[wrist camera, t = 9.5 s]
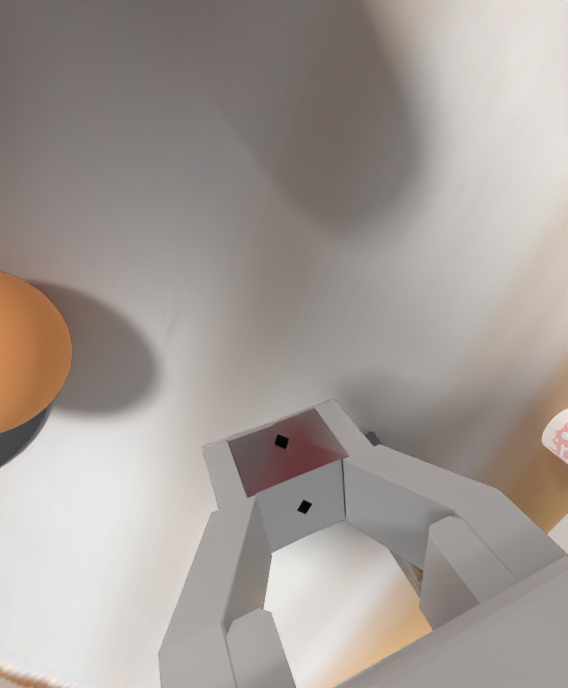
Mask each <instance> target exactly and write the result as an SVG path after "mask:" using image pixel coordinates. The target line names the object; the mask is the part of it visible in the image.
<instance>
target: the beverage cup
mask: <svg viewBox="0 0 568 688" xmlns="http://www.w3.org/2000/svg"><path fill="white" fill-rule="evenodd" d="M542 443H543V445H544V446H545V447H547V448H548V449H549V450H550V451H552V452H553V453H554V454H555V455H556V456H558V457H559V458H560V459H561V460H563V461H564V462H565V463H566V464H567V465H568V409H566V410H563V411H562V412H560V413H559V414H558V415H556V416H555V417H554V418H553V419H552V420H551V422H550V423H549V424H548V425H547V427H546V429H545V430H544V432H543V436H542Z"/></svg>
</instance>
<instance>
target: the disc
mask: <svg viewBox="0 0 568 688" xmlns="http://www.w3.org/2000/svg"><path fill="white" fill-rule="evenodd" d="M45 410H46V408H45V409H43V410H42V411H41V412H40V413H39V414H37V415H36V416H35V417H33V418H32V419H30V420H28V421H27V422H25V423H23V424H21V425H19V426H17V427H15V428H13V429H10V430H8V431H5V432H2V433H0V465H1V464H3V463H4V462H6V461H7V460H8V459H9V458H11V457H12V456H13V455H14V454H16V453H17V452H18V451H19V450H20V449H21V448H22V447H23V446H24V445H25V443H26V442H27V441H28V440H29V439H30V438H31V436H32V435H33V433H34V432H35V430H36V429H37V428H38V426H39V424H40V422H41V420H42V417H43V415H44V413H45Z"/></svg>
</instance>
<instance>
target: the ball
mask: <svg viewBox="0 0 568 688" xmlns="http://www.w3.org/2000/svg"><path fill="white" fill-rule="evenodd" d="M71 360H72V342H71V337H70V332H69V330H68V327H67V324H66V322H65V320H64V318H63V317H62V315H61V313H60V312H59V310H58V309H57V308H56V306H55V305H54V304H53V303H52V302H51V301H50V300H49V299H48V298H47V296H46V295H44V294H43V293H42V292H41V291H39V290H38V289H37V288H35V287H34V286H32V285H30V284H29V283H27V282H26V281H23V280H21V279H19V278H17V277H15V276H13V275H10V274H7V273H4V272H1V271H0V433H2V432H5V431H8V430H10V429H13V428H15V427H17V426H19V425H21V424H23V423H25V422H27V421H28V420H30V419H32V418H33V417H35V416H36V415H37V414H39V413H40V412H41V411H42V410H43V409H45V408H46V407H47V406H48V405H49V404H50V403H51V402H52V401H53V399H54V398H55V397H56V395H57V394H58V393H59V391H60V390H61V388H62V386H63V385H64V383H65V381H66V379H67V376H68V374H69V370H70V366H71Z"/></svg>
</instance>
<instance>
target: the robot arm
mask: <svg viewBox="0 0 568 688" xmlns="http://www.w3.org/2000/svg"><path fill="white" fill-rule="evenodd" d="M226 439H227V440H226ZM202 447H203V454H204V458H205V461H206V465H207V469H208V472H209V476H210V480H211V483H212V487H213V491H214V494H215V498H216V502H217V505H218V509H219V510H217V511H215V512H213V513H211V515H210V518H209V521H208V523H207V526H206V528H205V531H204V534H203V536H202V539H201V542H200V544H199V547H198V550H197V552H196V555H195V558H194V560H193V563H192V565H191V568H190V571H189V573H188V576H187V579H186V581H185V584H184V587H183V589H182V592H181V595H180V597H179V600H178V603H177V605H176V608H175V610H174V613H173V616H172V618H171V621H170V624H169V626H168V629H167V632H166V634H165V637H164V640H163V642H162V645H161V647H160V650H159V653H158V657H159V670H160V683H161V688H296V685H295V682H294V679H293V676H292V673H291V670H290V667H289V664H288V662H287V659H286V656H285V653H284V650H283V647H282V644H281V641H280V638H279V635H278V632H277V629H276V626H275V623H274V620H273V617H272V614H271V612H269V611H266V610H263V607H264V601H265V595H266V589H267V583H268V577H269V570H270V564H271V558H272V555H271V553H272V552H274V551H276V550H279V549H281V548H283V547H285V546H287V545H289V544H291V543H293V542H295V541H297V540H299V539H301V538H303V537H305V536H307V535H310V534H312V533H314V532H317V531H319V530H322V529H324V528H326V527H329V526H331V525H333V524H336V523H338V522H341V521H343V520H345V519H347V522H349V523H350V524H352V525H353V526H355V527H356V528H358V529H359V530H361V531H363V532H364V533H366V534H367V535H369V536H370V537H372V538H373V539H375V540H376V541H378V542H380V543H381V544H383V545H384V546H386V547H387V548H389V549H390V550H392V551H393V552H395V553H396V554H398V555H400V556H401V557H403V558H404V559H406V560H407V561H409V562H410V563H412V564H413V565H415V566H417V567H418V568H420V569H421V570H423V571H424V573H423V581H422V588H421V596H420V604H419V608H420V610H421V612H422V613H423V615H424V616H425V618H426V620H427V621H428V623H429V624H430V626H431V628H432V629H433V631H431V632H430V633H428V634H426V635H424V636H423V637H421V638H419V639H417V640H416V641H414V642H412V643H410V644H408V645H407V646H405V647H403V648H401V649H400V650H398V651H396V652H394V653H393V654H391V655H389V656H387V657H386V658H384V659H382V660H380V661H379V662H377V663H375V664H373V665H371V666H370V667H368V668H366V669H364V670H363V671H361V672H359V673H357V674H356V675H354V676H352V677H350V678H349V679H347V680H345V681H343V682H342V683H340V684H338V685H336V686H334V687H333V688H568V554H567V553H566V552H565V551H564V550H563V549H561V548H560V546H558V545H557V544H556V543H555V542H554V541H553V540H552V539H551V538H550V537H549V536H548V535H547V534H546V533H545V532H544V531H543V530H541V529H540V528H539V527H538V526H537V525H536V524H535V523H534V522H533V521H532V520H531V519H530V518H529V517H528V516H527V515H525V514H524V513H523V512H522V511H521V510H520V509H519V508H518V507H517V506H516V505H515V504H514V503H513V502H512V501H511V500H510V499H508V498H507V497H506V496H505V495H504V494H503V493H502V492H501V491H500V490H498V489H496V488H493V487H491V486H488V485H485V484H483V483H480V482H478V481H475V480H472V479H470V478H467V477H464V476H462V475H459V474H457V473H454V472H451V471H449V470H446V469H443V468H441V467H438V466H436V465H433V464H430V463H428V462H425V461H422V460H420V459H417V458H415V457H412V456H409V455H407V454H404V453H401V452H399V451H396V450H394V449H391V448H388V447H386V446H383V445H380V444H379V445H377V446H374V447H373V445H372V444H371V443H370V442H369V441H368V439H367V438H366V437H365V436H364V434H363V433H362V432H361V431H360V430H359V428H358V427H357V426H356V425H355V424H354V422H353V421H352V420H351V419H350V418H349V416H348V415H347V414H346V413H345V411H344V410H343V409H342V408H341V407H340V405H339V404H338V403H337V402H336V401H335V400H333V399H331V400H328V401H325V402H323V403H320V404H317V405H315V406H312V407H311V408H307V409H305V410H302V411H299V412H297V413H294V414H291V415H289V416H286V417H283V418H281V419H278V420H275V421H273V422H270V423H268V424H265V425H262V426H259V427H256V428H253V429H250V430H247V431H244V432H241V433H238V434H235V435H232V436H229V437H226V438H225V439H222V440H219V441H216V442H213V443H210V444H207V445H204V446H202Z"/></svg>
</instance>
